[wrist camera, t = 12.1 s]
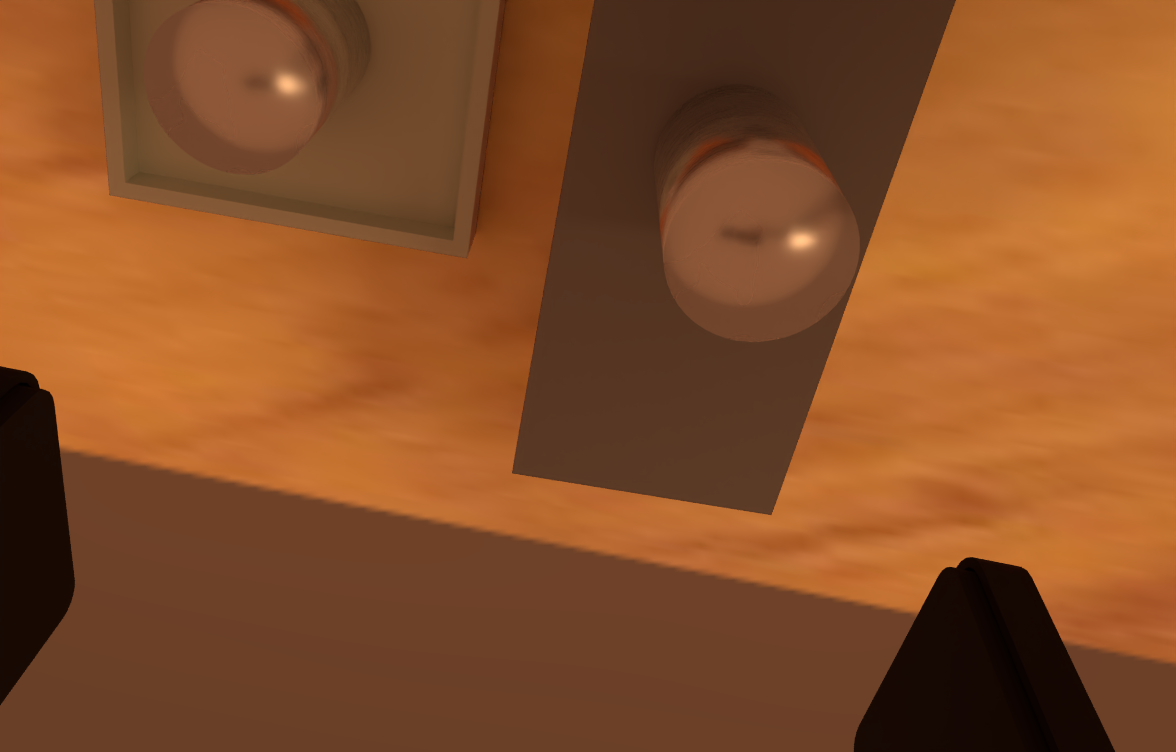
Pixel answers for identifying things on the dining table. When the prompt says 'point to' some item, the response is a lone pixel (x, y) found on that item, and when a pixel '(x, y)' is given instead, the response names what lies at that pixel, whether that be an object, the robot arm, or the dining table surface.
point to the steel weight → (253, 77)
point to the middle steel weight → (750, 217)
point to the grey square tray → (332, 130)
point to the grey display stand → (634, 249)
